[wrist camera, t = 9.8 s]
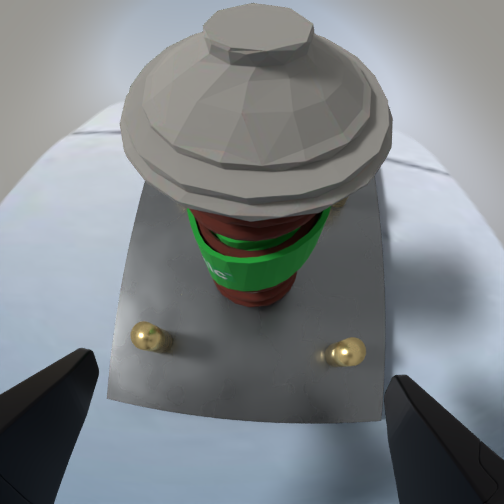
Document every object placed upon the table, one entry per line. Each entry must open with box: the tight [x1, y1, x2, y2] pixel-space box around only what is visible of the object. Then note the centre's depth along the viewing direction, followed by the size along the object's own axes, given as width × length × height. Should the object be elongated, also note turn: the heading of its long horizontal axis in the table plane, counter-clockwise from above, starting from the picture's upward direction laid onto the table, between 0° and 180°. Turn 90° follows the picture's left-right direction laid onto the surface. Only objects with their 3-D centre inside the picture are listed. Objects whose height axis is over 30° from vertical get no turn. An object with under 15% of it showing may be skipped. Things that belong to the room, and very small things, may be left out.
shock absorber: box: [120, 3, 393, 307], centre depth 12 cm, size 6×6×15 cm
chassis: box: [107, 176, 385, 423], centre depth 18 cm, size 18×16×4 cm
